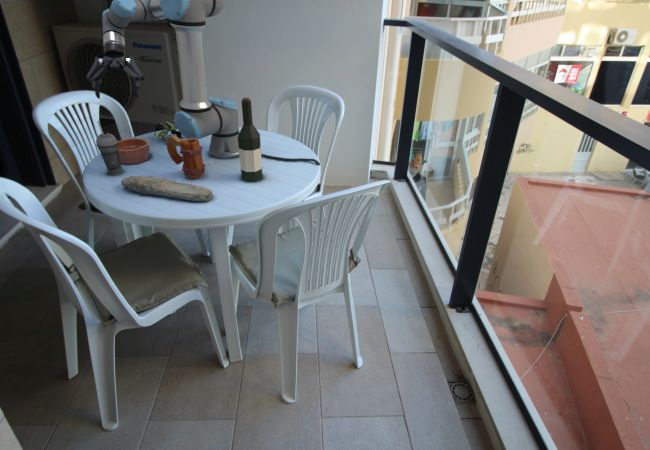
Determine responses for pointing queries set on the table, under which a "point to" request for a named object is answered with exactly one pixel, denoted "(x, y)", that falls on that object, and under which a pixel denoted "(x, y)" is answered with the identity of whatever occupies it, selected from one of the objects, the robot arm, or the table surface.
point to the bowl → (133, 150)
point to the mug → (187, 155)
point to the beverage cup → (109, 152)
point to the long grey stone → (166, 188)
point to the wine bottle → (249, 146)
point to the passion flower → (169, 127)
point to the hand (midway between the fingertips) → (117, 96)
